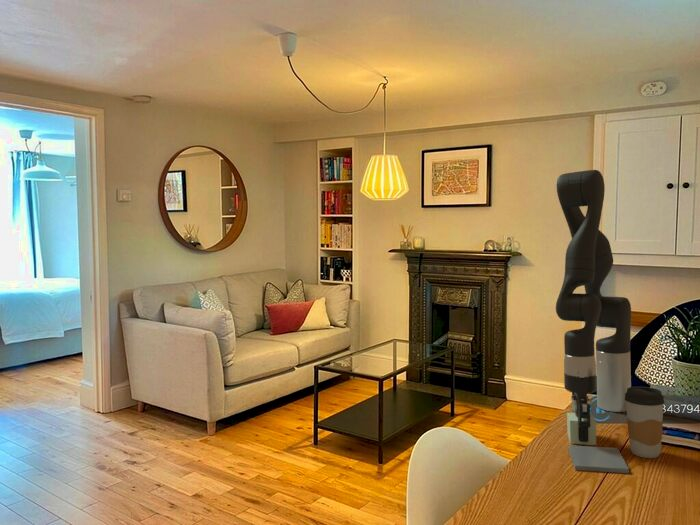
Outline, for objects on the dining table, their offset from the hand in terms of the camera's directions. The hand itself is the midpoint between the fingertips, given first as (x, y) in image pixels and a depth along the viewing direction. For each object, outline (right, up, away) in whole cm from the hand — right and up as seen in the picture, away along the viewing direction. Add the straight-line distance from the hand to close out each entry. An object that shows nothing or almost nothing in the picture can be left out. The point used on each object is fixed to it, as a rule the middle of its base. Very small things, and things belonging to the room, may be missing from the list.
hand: (581, 436), depth 140 cm
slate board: (-2, -2, -13) cm, 13 cm away
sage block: (0, -1, 0) cm, 1 cm away
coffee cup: (+11, -1, -10) cm, 15 cm away
